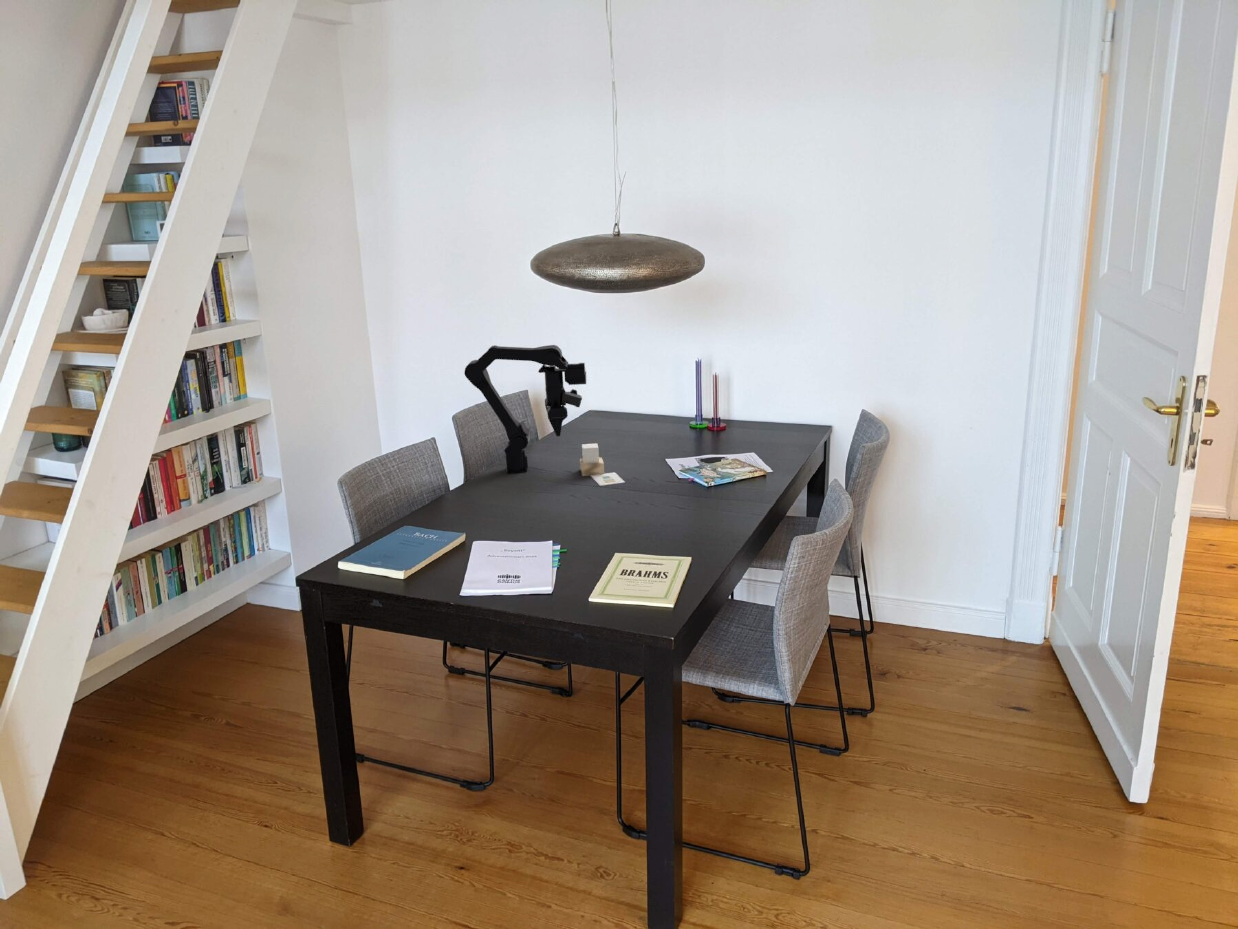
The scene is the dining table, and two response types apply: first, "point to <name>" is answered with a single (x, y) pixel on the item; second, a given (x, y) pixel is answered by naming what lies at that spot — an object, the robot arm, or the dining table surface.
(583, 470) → the oak base
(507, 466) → the robot arm
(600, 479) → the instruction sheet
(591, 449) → the white cube
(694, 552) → the dining table surface
